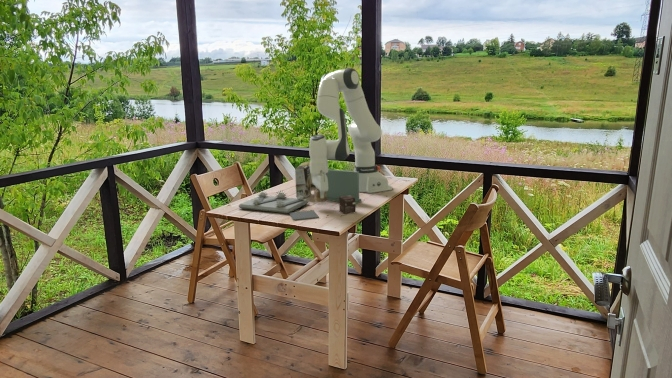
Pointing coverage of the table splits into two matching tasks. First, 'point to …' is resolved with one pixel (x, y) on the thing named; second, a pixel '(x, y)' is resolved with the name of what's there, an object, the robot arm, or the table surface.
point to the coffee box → (303, 181)
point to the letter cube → (317, 196)
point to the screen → (342, 184)
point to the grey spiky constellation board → (274, 203)
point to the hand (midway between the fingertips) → (320, 196)
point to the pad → (303, 215)
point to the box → (347, 204)
